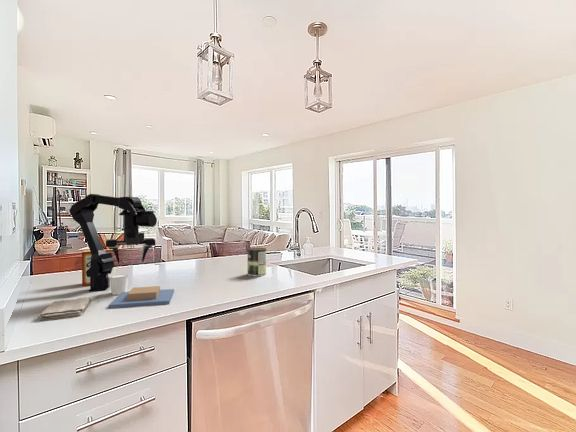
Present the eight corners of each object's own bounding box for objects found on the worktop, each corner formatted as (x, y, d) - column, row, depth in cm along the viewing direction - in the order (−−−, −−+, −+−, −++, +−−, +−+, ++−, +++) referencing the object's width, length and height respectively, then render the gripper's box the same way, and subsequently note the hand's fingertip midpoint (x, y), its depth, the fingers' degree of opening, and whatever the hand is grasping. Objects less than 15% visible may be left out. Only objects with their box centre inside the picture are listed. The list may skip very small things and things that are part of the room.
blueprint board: (108, 308, 109) (108, 297, 109) (122, 295, 126) (121, 286, 126) (169, 303, 114) (169, 293, 114) (174, 291, 131) (173, 283, 131)
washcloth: (38, 323, 96) (37, 313, 96) (52, 307, 112) (52, 298, 112) (83, 317, 101) (83, 308, 101) (91, 303, 117) (91, 294, 117)
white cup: (109, 296, 125) (109, 278, 125) (110, 292, 131) (110, 275, 131) (128, 293, 128) (128, 277, 128) (128, 290, 134) (128, 274, 134)
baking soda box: (82, 286, 141) (81, 251, 141) (82, 283, 147) (82, 249, 146) (106, 283, 146) (106, 249, 146) (105, 281, 152) (105, 248, 152)
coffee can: (248, 276, 161) (248, 250, 161) (246, 273, 171) (246, 247, 171) (267, 275, 164) (267, 249, 164) (264, 272, 174) (264, 247, 174)
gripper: (106, 227, 120) (105, 267, 121) (157, 227, 130) (157, 264, 130) (105, 226, 130) (105, 262, 130) (153, 225, 140) (153, 260, 140)
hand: (130, 262), depth 132 cm, fingers open, 9 cm apart
